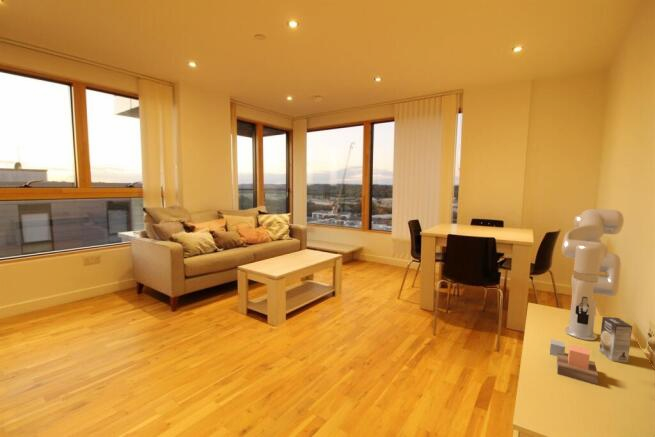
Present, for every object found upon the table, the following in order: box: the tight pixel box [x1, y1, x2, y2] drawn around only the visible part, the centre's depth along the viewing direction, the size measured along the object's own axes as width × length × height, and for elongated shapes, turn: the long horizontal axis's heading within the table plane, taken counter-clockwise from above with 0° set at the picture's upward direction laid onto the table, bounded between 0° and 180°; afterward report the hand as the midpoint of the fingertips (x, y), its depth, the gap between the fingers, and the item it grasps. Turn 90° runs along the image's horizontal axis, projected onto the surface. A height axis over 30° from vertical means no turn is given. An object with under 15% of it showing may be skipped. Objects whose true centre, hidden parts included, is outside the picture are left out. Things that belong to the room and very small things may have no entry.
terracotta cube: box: [567, 343, 591, 370], centre depth 125 cm, size 6×6×6 cm
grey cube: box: [549, 339, 566, 357], centre depth 140 cm, size 5×5×5 cm
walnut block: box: [556, 353, 599, 386], centre depth 126 cm, size 12×12×4 cm
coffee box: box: [598, 316, 633, 363], centre depth 138 cm, size 9×6×16 cm
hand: (581, 319), depth 124 cm, fingers open, 9 cm apart
